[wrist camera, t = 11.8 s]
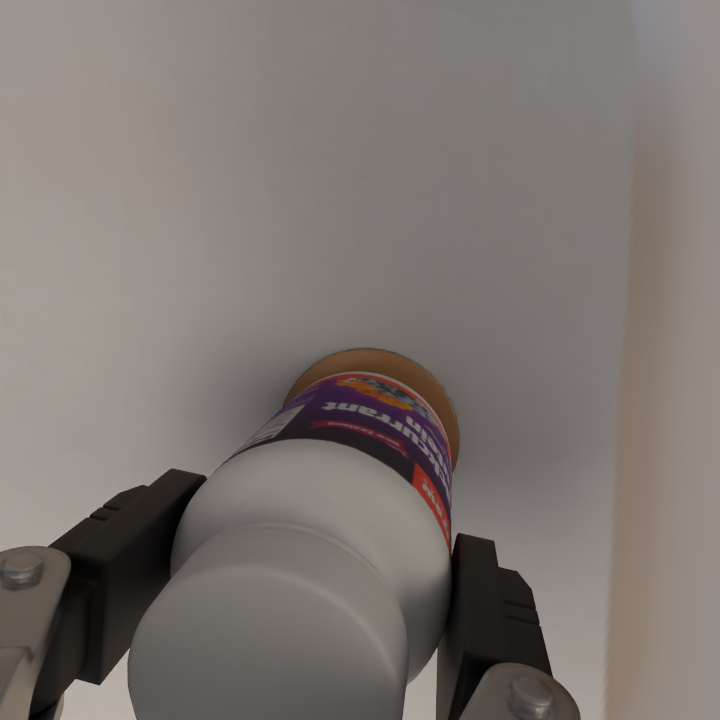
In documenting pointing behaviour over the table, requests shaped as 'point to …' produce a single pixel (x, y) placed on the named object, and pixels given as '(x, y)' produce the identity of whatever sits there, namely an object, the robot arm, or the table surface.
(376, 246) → the table surface
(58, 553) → the robot arm
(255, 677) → the pill bottle
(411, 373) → the cork coaster
